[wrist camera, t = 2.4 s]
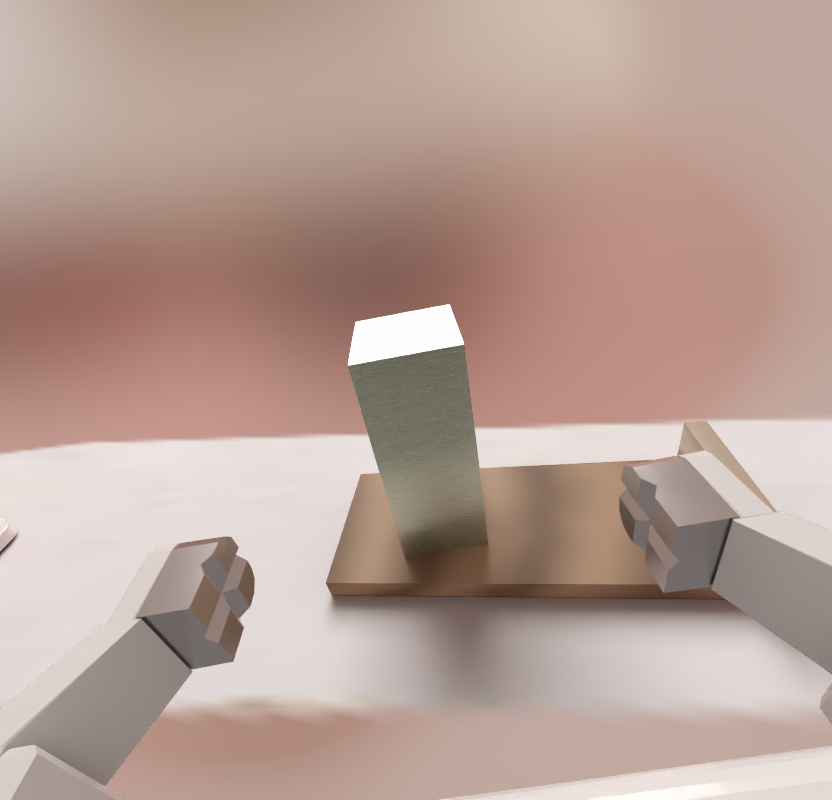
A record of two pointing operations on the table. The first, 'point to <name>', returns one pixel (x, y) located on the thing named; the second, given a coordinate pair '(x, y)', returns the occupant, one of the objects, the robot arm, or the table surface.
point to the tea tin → (421, 427)
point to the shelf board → (520, 537)
